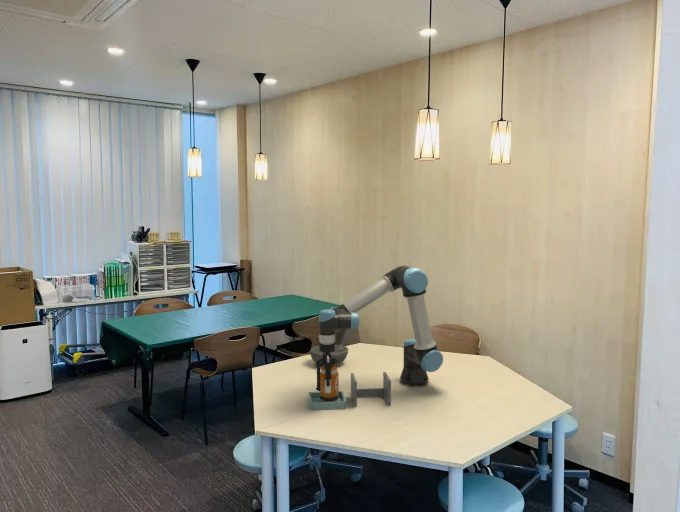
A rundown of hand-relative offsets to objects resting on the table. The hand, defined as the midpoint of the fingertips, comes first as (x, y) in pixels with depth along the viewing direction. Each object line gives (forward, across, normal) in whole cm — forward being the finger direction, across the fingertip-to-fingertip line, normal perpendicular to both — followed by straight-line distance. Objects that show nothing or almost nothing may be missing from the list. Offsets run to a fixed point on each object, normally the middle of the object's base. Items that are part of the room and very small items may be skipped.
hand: (327, 389), depth 253 cm
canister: (+5, 0, 0) cm, 5 cm away
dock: (+7, 0, +21) cm, 22 cm away
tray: (+7, 0, 0) cm, 7 cm away
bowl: (+7, -63, +6) cm, 64 cm away
